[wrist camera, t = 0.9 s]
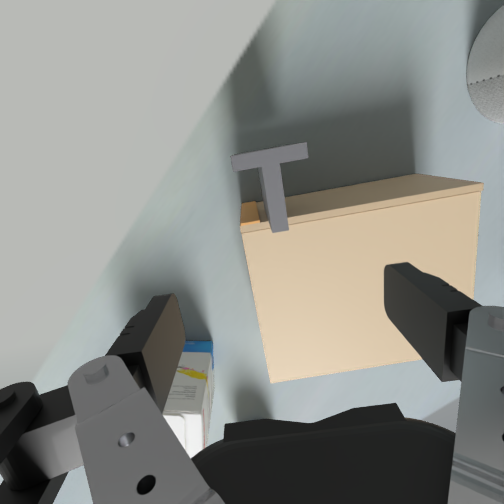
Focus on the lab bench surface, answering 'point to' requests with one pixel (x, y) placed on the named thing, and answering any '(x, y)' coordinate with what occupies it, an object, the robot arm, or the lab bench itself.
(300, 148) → the carton flap
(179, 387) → the ink box
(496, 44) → the toilet paper roll
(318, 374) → the carton
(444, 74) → the lab bench surface
